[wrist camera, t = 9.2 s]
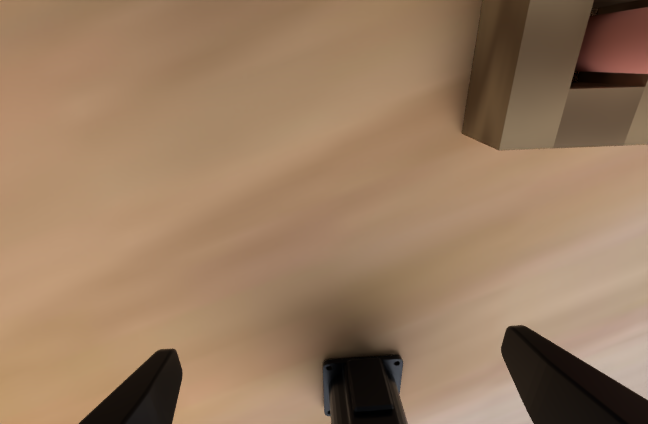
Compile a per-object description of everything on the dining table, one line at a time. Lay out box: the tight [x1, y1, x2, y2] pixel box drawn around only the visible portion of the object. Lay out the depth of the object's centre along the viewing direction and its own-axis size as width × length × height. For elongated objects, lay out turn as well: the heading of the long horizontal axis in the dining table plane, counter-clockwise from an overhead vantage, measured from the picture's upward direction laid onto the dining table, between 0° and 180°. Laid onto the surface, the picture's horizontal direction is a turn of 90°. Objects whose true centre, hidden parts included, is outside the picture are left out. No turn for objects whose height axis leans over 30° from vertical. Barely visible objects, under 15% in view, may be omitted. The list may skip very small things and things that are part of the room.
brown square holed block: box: [462, 0, 648, 150], centre depth 16 cm, size 9×9×4 cm
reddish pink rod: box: [575, 7, 648, 74], centre depth 14 cm, size 2×2×9 cm
